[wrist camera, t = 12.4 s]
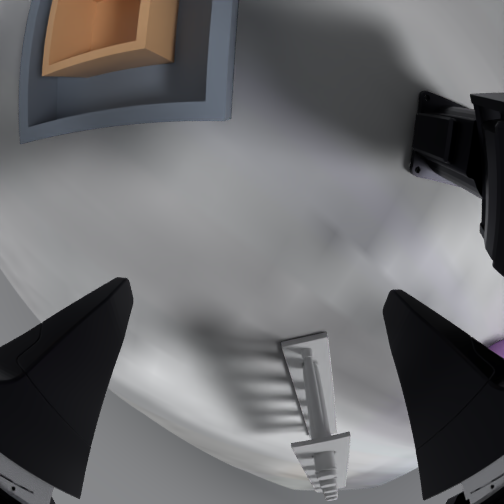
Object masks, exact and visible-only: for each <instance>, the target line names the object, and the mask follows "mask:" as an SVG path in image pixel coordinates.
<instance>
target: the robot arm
mask: <svg viewBox="0 0 504 504" xmlns="http://www.w3.org/2000/svg"><path fill="white" fill-rule="evenodd" d="M425 95H426V96H427V100H426V99H425ZM470 98H471V102H472V104H473V105H474V109H468V108H465V107H463V106H461V105H459V104H457V103H455V102H452V101H450V100H448V99H446V98H443V97H441V96H438V95H436V94H433V93H431V92H428V91H422V92H421V93H420V94H419V104H418V114H417V115H416V123H415V131H414V138H413V145H412V147H413V151H412V157H411V163H410V172H411V174H413V175H415V176H417V177H421V178H426V179H430V180H434V181H439V182H443V183H447V184H451V185H454V186H458V187H462V188H463V189H465V190H467V191H469V192H470V193H472V194H474V195H476V196H477V197H479V198H481V199H482V222H481V223H480V233H481V235H482V236H483V238H484V243H485V249H486V250H487V252H488V254H489V256H490V257H491V259H492V260H493V264H492V265H493V267H494V268H495V270H497V271H498V272H499V273H500V274H501V275H502V276H503V277H504V93H480V94H470ZM416 167H418V170H417V171H416V172H415V168H416ZM132 306H133V295H132V290H131V286H130V282H129V280H128V279H127V278H121V277H117V278H115V279H113V280H111V281H110V282H108V283H106V284H104V285H103V286H101V287H99V288H98V289H96V290H94V291H92V292H91V293H89V294H87V295H86V296H84V297H82V298H81V299H79V300H77V301H76V302H74V303H72V304H71V305H69V306H67V307H66V308H64V309H63V310H61V311H59V312H58V313H56V314H54V315H53V316H51V317H50V318H48V319H47V320H45V321H43V322H42V323H40V324H39V325H37V326H36V327H34V328H32V329H31V330H29V331H28V332H26V333H24V334H23V335H21V336H19V337H17V338H16V339H14V340H12V341H10V342H9V343H7V344H5V345H3V346H1V347H0V504H55V502H54V500H53V498H52V492H53V488H54V487H55V488H57V489H59V490H61V491H63V492H65V493H67V494H70V495H71V496H74V497H76V498H78V499H80V496H81V491H82V486H83V481H84V475H85V471H86V466H87V462H88V457H89V453H90V449H91V444H92V440H93V436H94V432H95V429H96V425H97V421H98V417H99V414H100V411H101V407H102V404H103V400H104V397H105V394H106V391H107V388H108V384H109V381H110V378H111V375H112V372H113V369H114V366H115V363H116V361H117V358H118V355H119V352H120V349H121V346H122V343H123V341H124V337H125V333H126V329H127V325H128V321H129V317H130V313H131V310H132ZM383 317H384V321H385V326H386V330H387V335H388V340H389V344H390V349H391V352H392V356H393V359H394V363H395V366H396V369H397V373H398V376H399V380H400V384H401V387H402V391H403V395H404V399H405V403H406V407H407V411H408V415H409V420H410V424H411V429H412V433H413V438H414V443H415V449H416V455H417V461H418V467H419V473H420V480H421V487H422V496H423V500H426V499H429V498H431V497H433V496H435V495H438V494H440V493H442V492H444V491H446V490H448V489H450V488H452V487H454V486H456V485H458V484H460V483H461V484H462V487H463V492H461V493H459V494H457V495H455V496H453V497H452V498H450V499H448V500H447V502H446V504H504V358H502V357H501V356H499V355H498V354H496V353H495V352H493V351H491V350H490V349H488V348H487V347H486V346H484V345H483V344H481V343H480V342H478V341H477V340H476V339H474V338H473V337H471V336H470V335H468V334H467V333H466V332H464V331H463V330H461V329H460V328H458V327H457V326H455V325H454V324H453V323H451V322H450V321H448V320H447V319H445V318H444V317H442V316H441V315H439V314H438V313H436V312H435V311H433V310H432V309H430V308H429V307H427V306H426V305H424V304H423V303H421V302H420V301H418V300H417V299H415V298H414V297H412V296H410V295H409V294H407V293H406V292H404V291H403V290H391V291H390V292H389V294H388V297H387V300H386V302H385V305H384V307H383Z"/></svg>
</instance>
